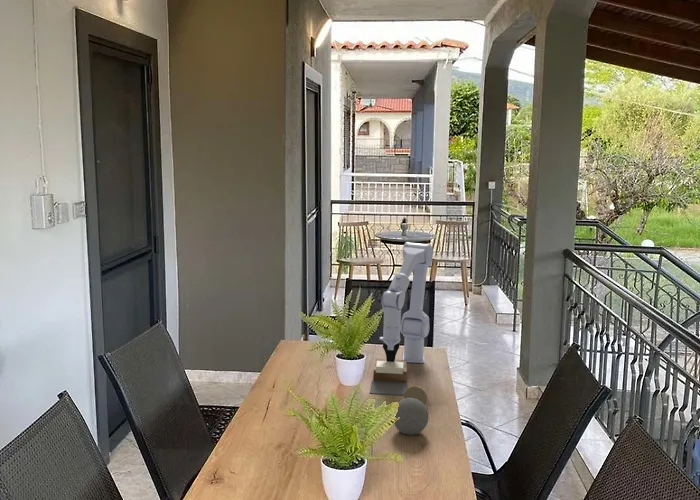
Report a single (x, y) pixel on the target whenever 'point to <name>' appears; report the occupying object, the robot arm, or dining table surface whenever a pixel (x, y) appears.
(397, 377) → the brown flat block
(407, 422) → the decorative ball
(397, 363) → the cream rectangular block
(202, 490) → the dining table surface
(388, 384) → the mat
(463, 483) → the dining table surface
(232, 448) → the dining table surface
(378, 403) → the dining table surface
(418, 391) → the tan short cylinder
